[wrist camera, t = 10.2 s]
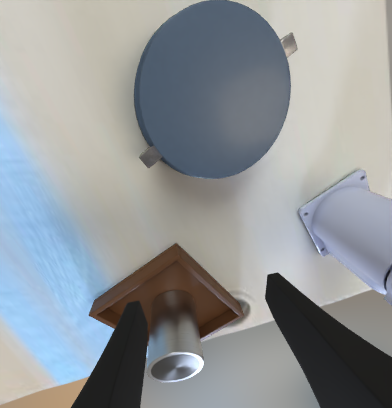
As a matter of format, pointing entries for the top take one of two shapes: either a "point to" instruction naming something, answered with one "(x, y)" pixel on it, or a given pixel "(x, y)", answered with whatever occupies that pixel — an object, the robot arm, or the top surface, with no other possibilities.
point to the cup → (174, 338)
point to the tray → (167, 281)
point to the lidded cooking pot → (212, 89)
